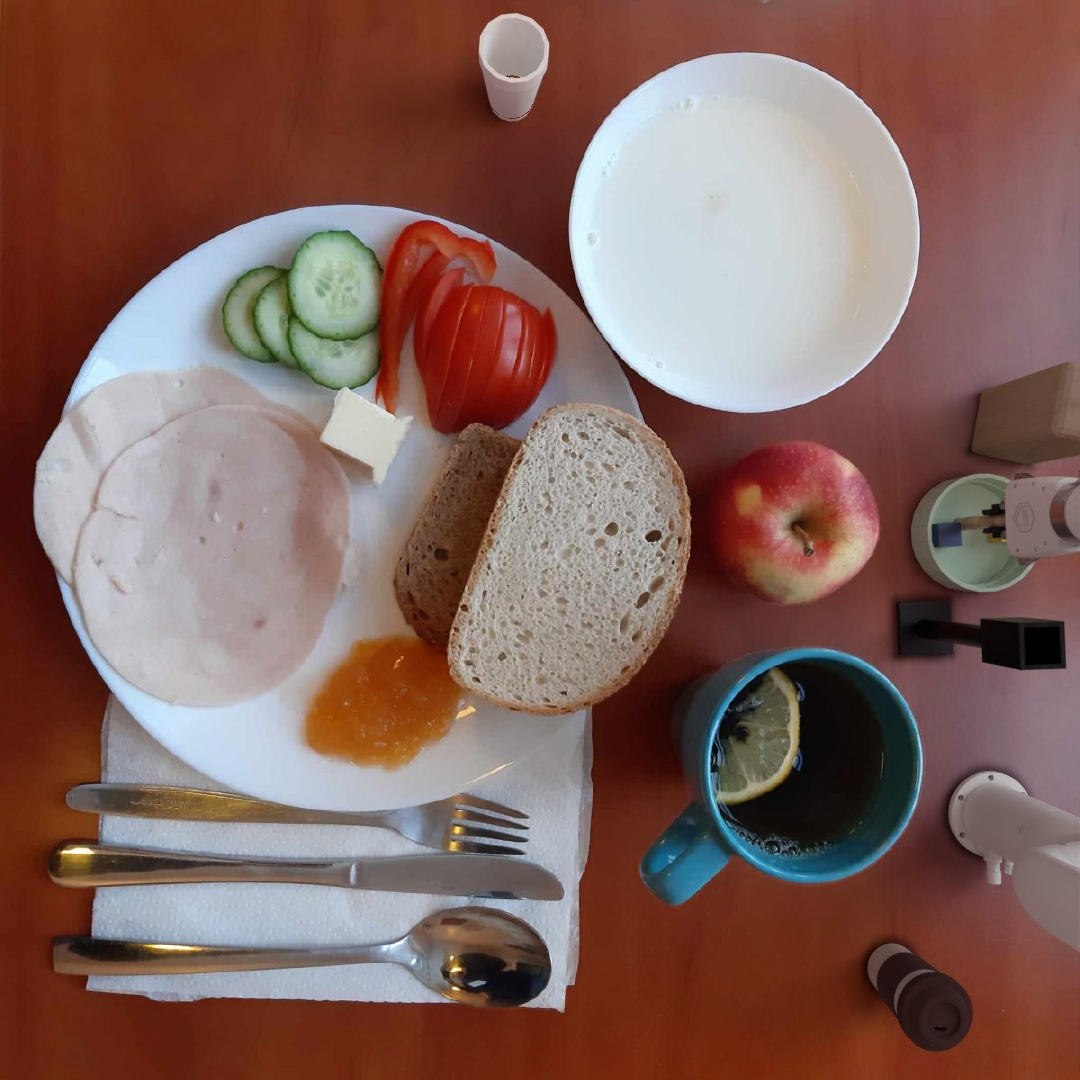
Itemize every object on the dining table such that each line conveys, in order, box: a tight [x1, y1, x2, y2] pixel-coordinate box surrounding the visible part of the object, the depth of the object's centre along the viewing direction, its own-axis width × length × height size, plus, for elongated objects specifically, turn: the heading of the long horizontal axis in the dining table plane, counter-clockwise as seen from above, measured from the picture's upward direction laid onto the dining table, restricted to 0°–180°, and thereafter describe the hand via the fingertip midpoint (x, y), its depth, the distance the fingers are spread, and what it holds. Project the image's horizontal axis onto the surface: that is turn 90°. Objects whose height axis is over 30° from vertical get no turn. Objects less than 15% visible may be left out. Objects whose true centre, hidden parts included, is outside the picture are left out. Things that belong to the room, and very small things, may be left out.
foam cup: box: [478, 12, 550, 123], centre depth 120 cm, size 10×9×13 cm
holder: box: [895, 600, 1067, 671], centre depth 115 cm, size 8×8×28 cm
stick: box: [953, 514, 1006, 531], centre depth 120 cm, size 2×2×14 cm
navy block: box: [931, 522, 962, 548], centre depth 127 cm, size 4×4×4 cm
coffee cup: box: [867, 943, 974, 1053], centre depth 119 cm, size 10×10×15 cm
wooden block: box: [971, 360, 1080, 466], centre depth 120 cm, size 10×10×20 cm
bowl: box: [910, 473, 1036, 593], centre depth 126 cm, size 17×17×6 cm
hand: (992, 521), depth 119 cm, fingers closed on stick, 2 cm apart
